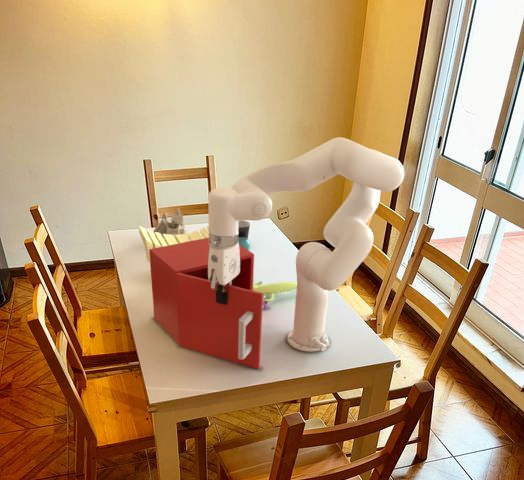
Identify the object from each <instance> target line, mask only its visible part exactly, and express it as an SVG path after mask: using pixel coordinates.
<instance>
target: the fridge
mask: <svg viewBox="0 0 524 480" xmlns="http://www.w3.org/2000/svg"><path fill="white" fill-rule="evenodd" d="M209 249H210V245H209V238H203V239H199V240H194V241H189V242H184V243H179V244H174V245H169V246H163V247H158V248H153V249H149V253H150V262H149V264H150V279H151V292H152V305H153V307H152V308H153V319H154V320H155V321H156V322H157V323H158V324H159V325H160V326H161V327H162V328H163V330H165V332H167V333H168V334H169V335H170V336H171V337H172V338H173V339H174V341H176V343H177V344H178V345H180V343H179V322H178V300H177V279H176V274H177V273H182V274H186V275H190V276H194V277H198V278H202V279H206V280H209V279H208V258H209ZM239 251H240V273H239V274H238V275H237V276H236V277H235V278H234V279H232V285H231V286H235V287H239V288H243V289H247V290H252V291H253V285H254V269H255V268H254V266H255V264H254V263H255V254H254V253H253V252H252V251H251V250H250V249H249V250H247V249H245V248H244V247H242V246H241V245H239Z"/></svg>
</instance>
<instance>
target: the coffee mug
mask: <svg viewBox="0 0 524 480" xmlns="http://www.w3.org/2000/svg"><path fill="white" fill-rule="evenodd" d="M250 225H251V222H249V220H239V221H238V229H239V228H243V229H246V230H247V236H246V237H245V238H247V239H248V240H249V235H250Z"/></svg>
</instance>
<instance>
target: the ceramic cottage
mask: <svg viewBox="0 0 524 480" xmlns="http://www.w3.org/2000/svg"><path fill="white" fill-rule="evenodd" d="M161 215H162V216H161V217H162V218H161V220H160V222H159V223H158V224H157V226H155V227H154V230H153V233H154V234H155V232H158V233H160V234H161V235H162V237H163V234H170V235H173V236H174V237H175V235H179V234H186V235H187V231H186V230H185V228H186V227H185V221H184V215H183V214H181V211H180V208H179V207H178V208H177V209H176V210H175V211H174V213H172V214H171V218H170V220H171V221H170V222H169V221H168V216H167V212H166V211H163V212H162V214H161ZM175 239H176V237H175ZM176 240H177V239H176ZM177 242H178V241H177ZM178 244H179V243H178Z"/></svg>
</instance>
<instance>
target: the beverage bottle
mask: <svg viewBox="0 0 524 480" xmlns="http://www.w3.org/2000/svg"><path fill="white" fill-rule="evenodd" d="M246 236H247V230H246V229H243V228H239V229H238V243H239V245H241V246H242V247H244V248H245V249H247V250H249V251H250V244H251V242H250V240H249V238H248V239H247V238H245V237H246Z"/></svg>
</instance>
